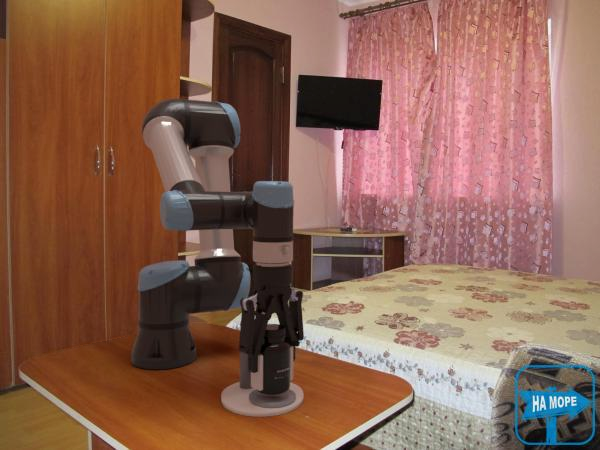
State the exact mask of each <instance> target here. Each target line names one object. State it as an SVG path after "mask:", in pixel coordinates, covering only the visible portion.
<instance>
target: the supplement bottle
mask: <svg viewBox="0 0 600 450" xmlns="http://www.w3.org/2000/svg"><path fill="white" fill-rule="evenodd" d="M285 337H286V328H285V326H283V325H280V324H278V323H268V324H267V328H266V331H265V335H264V339H263V342H262V346H261V350H260V353H259V354H261V355H263V390H261V391H259V390H257V389H256V390H257V391H258V392H260V393H262V394H267V395H277V394H282V393H285V392H286V391H288V390H289V388H290V382H291V381H290V366H291V346H290V343H289V342H288V341H287V340H286V339H284V338H285Z"/></svg>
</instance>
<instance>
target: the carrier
mask: <svg viewBox="0 0 600 450" xmlns="http://www.w3.org/2000/svg"><path fill="white" fill-rule="evenodd" d="M220 397H221V398H220V400H221V404H222V406H223V407H224V408H225V410H227V411H229V412H231V413H234V414H237V415H239V416H240V415H241V416H245V417H246V416H247V417H254V418H255V417H256V418H258V417H259V418H264V417H266V418H267V417H275V416H280V415H284V414H287V413H291V412H293V411H294V410H297V409H298V408H299V407H300V406H301V405H302V404H303V402H304V391H303V389H302V388H301V387H300V386H299V385H297V384H295V383H293V382H291V381H290V388H289V390H288V391H286V392H285V393H282V394H277V395H267V394H262V393H260V392H258V391H257V390H256V389H255V388H253V387H251V372H250V371H249V370H248V355H247V354H245V353H242V352H240V351H239V381H237V382H235V383H233V384H230V385H229V386H226V388H224V389H223V390H222V392H221V396H220Z"/></svg>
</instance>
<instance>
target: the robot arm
mask: <svg viewBox="0 0 600 450" xmlns="http://www.w3.org/2000/svg"><path fill="white" fill-rule="evenodd" d="M141 135H142V138H143V142H144V144H145V145H146V147H148V148H149V149H150V151H151V152H152V155H153V157H154V158H153V159H154V161H155V164H156V166H157V170H158V173H159V177H160V179H161V182H162V185H163V189H164V192H163V193H162V194H161V196H160V200H159V201H160V202H159V214H160V215H159V216H160V222H161V225H162V227H163V228H164V229H166V230H167V231H168V230H169V231H181V232H189V231H198V237H199V238H198V239H199V252H198V254H197V256H195V258H194V260H193V261H194V265H190V264H189V262H188V261H187V260H181V259H179V260H167V261H161V262H157V263H152V264H149V265H146V266H145V267H143V268H141V269H140V271H139V274H138V280H137V281H138V283H137V291H138V329H137V335H136V338H135V340H134V343H133V347H132V350H131V356H130V357H131V364H132V365H133V366H135V367H136V368H139V369H146V370H167V369H175V368H180V367H183V366H187V365H188V364H191V363H193V362H194V361H196V359H197V346H196V344H195V343H196V342H195V340H194V337H193V334H192V331H191V329H190V322H189V321H190V315H193V314H203V313H212V312H224V311H225V312H227V311H231V310H237V309H240V308H241V309H240V310H241V315H240V316H241V319H240V327H239V328H240V331H239V341H238V351H239V353H240V352H242V353H245V354H247V355H248V370H249V371H250V372H251V387H253V388H255V389H257V390H259V391H261V390H263V355H261V354H259V353H260V350H261V346H262V342H263V339H264V335H265V331H266V328H267V324H269V321H270V320H271V319H272V315H273V314H276V317H277V320H278V323H279V324H280V325H283V326H285V328H286V337H285V338H284V339H286V340H287V341H288V342H289V343H290V346H291V366H290V382H291V381H293V380H294V362H295V361H296V347H297V348H298V347H299V346H300V345H301V344H300V343H301V342H300V341H303V340H304V338H305V336H304V335H305V333H304V322H303V321H304V320H303V307H302V302H303V297H304V293H303V291H302V290H296V289H292V287H291V285H292V284H293V281H294V266H293V265H292V264H291V263H292V262H293V261H294V210H295V209H294V208H295V206H294V205H295V199H294V188H293V187H294V186H293V185H292V183H291V182H289V181H279V180H278V181H275V180H273V181H272V180H269V181H268V180H267V181H266V180H258V181H255V183H253V190H251V191H246V190H245V191H231V180H230V179H231V178H230V166H229V165H230V164H229V163H230V162H229V159H230V157H231V156H232V155H233V154H235V153H234V152H235V150H234V149H236V148H237V147H238V146H239V144H240V141H241V136H240V135H241V122H240V119H239V115H238V113H237V110H236V109H235V108H234V107H233V106H232V105H231V104H229V103H225V102H224V103H223V102H219V101H207V100H199V99H198V100H197V99H187V98H186V99H185V98H175V97H173V98H168V99H163V100H161V101H159V102H158V103H156V104H154V105H153V106H152V107H151V108H150V109H148V111H147V113H145V115H144V117H143V119H142V124H141ZM187 147H188V148H187ZM193 159H194V162H193ZM194 164H195V165H194ZM247 229H248V230H249V229H250V230H251V229H252V236H253V237H252V261H253V262H254V264H253V266H252V282H253V286H254V290H253V293H252V296H249V294H250V288H251V272H250V268H249V266H248V264H247V263H245V262H242V261H241V260H242V257H241V254H239V253H238V252H237V251H236V250H235V241H234V230H247Z"/></svg>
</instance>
